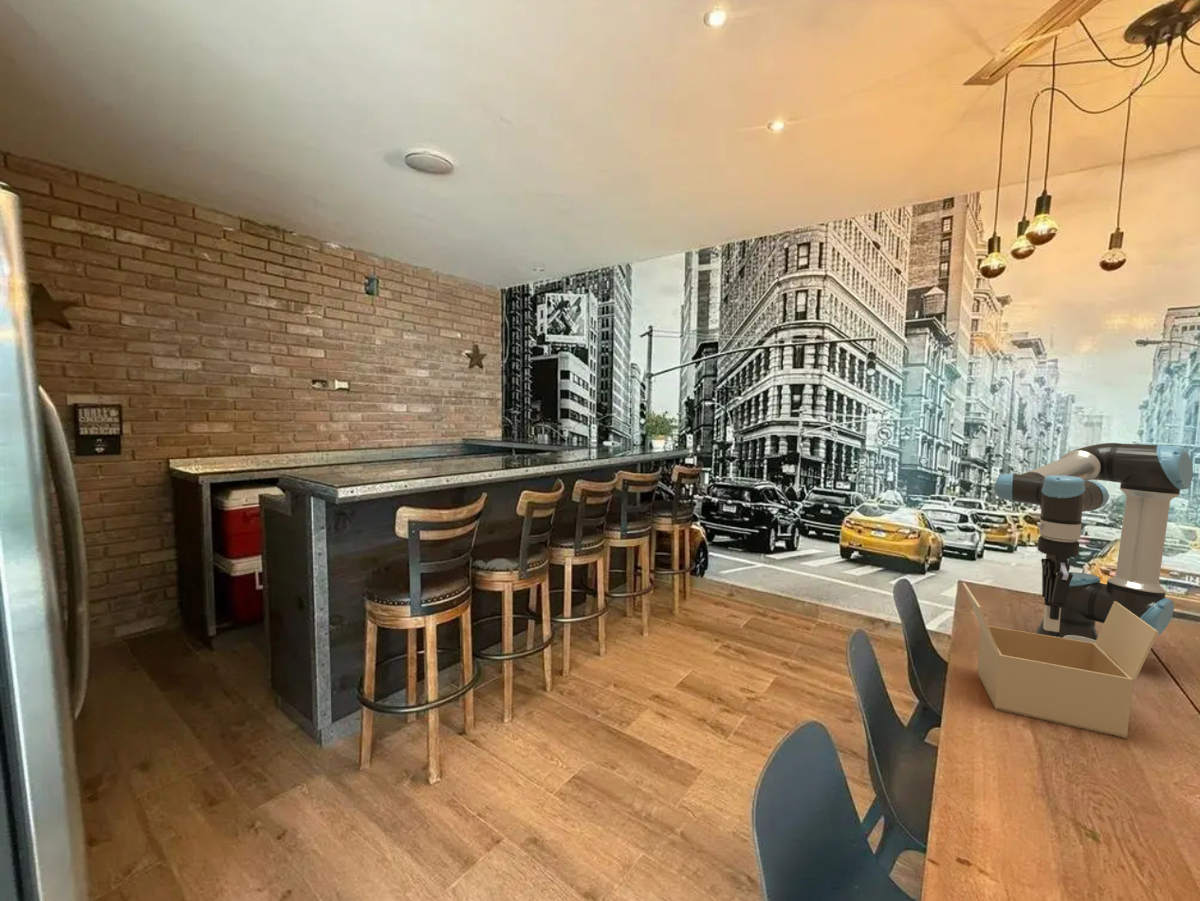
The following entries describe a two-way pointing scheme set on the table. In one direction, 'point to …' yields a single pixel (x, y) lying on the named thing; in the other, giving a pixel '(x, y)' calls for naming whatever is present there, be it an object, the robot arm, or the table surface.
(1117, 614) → the near flap
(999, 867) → the table surface
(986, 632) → the far flap
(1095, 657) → the carton
